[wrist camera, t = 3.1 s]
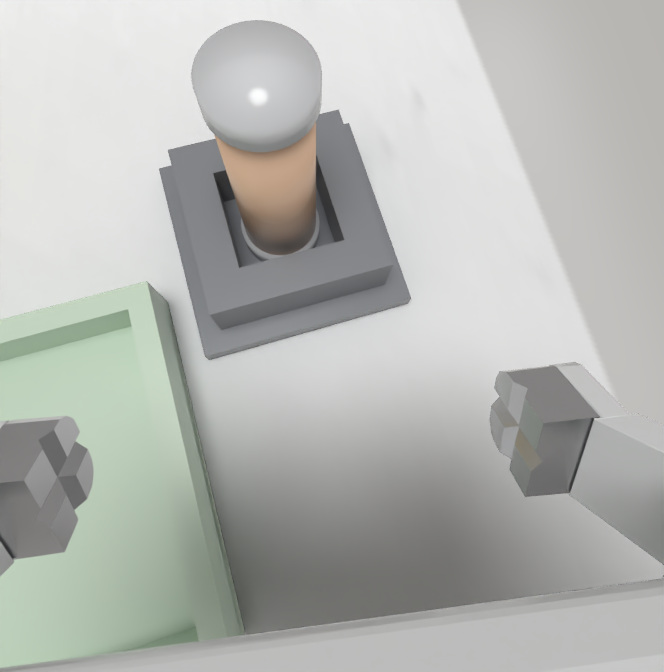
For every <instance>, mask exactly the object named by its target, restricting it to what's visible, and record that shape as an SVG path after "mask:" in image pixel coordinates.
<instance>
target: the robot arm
mask: <svg viewBox="0 0 664 672" xmlns="http://www.w3.org/2000/svg"><path fill="white" fill-rule="evenodd" d="M494 389H495V390H496V392H497V393H498V395H499V396H500V397H499V398H498V399H497V400H496V401H495V402H494V403H493V405H492V406H491V412H490V426H491V433H492V436H493V439H494V442H495V444H496V446H497V448H498V450H499V451H500V452H501V453H502V454H504V455H506V456H507V457H509V458H510V459H512V460H511V464H510V471H511V473H512V475H513V476H514V478H515V480H516V482H517V483H518V485H519V487H520V489H521V490H522V492H523V494H524V496H525V497H528V496H539V495H550V494H561V493H570V496H572V497H573V498H574V499H576V500H577V501H578V502H580V503H581V504H582V505H584V506H585V507H586V508H588V509H589V510H591V511H592V512H593V513H595V514H596V515H597V516H599V517H600V518H601V519H603V520H604V521H605V522H607V523H608V524H609V525H611V526H612V527H613V528H615V529H616V530H618V531H619V532H620V533H622V534H623V535H624V536H626V537H627V538H628V539H630V540H631V541H632V542H634V543H635V544H636V545H638V546H639V547H640V548H642V549H643V550H644V551H646V552H647V553H649V554H650V555H651V556H653V557H654V558H655V559H657V560H658V561H659V562H661V563H662V564H663V565H664V425H663V424H661V423H659V422H656V421H654V420H652V419H649V418H647V417H645V416H643V415H640V414H632V415H630V414H629V413H628V412H627V411H626V410H625V408H624V407H623V406H622V405H621V404H620V403H619V402H618V401H617V400H616V399H615V398H614V397H613V396H612V395H611V394H610V393H609V392H608V391H607V390H606V389H605V388H604V387H603V386H602V385H601V384H600V383H599V382H598V381H597V380H596V379H595V378H594V377H593V376H592V375H591V374H590V373H589V372H588V371H587V370H586V369H585V368H584V367H583V366H582V365H581V364H578V363H576V362H571V363H563V364H555V365H550V366H545V367H536V368H527V369H517V370H508V371H500V372H499V374H498V375H497V377H496V382H495V387H494ZM79 433H80V430H79V428H78V426H77V424H76V423H75V421H74V419H73V418H71V417H69V416H55V417H43V418H30V419H18V420H11V421H0V576H1V575H2V574H3V573H4V572H5V571H6V570H7V569H8V568H9V567H10V566H11V565H12V564H13V563H14V560H15V559H22V558H29V557H36V556H43V555H49V554H56V553H63V552H65V551H66V548H67V546H68V544H69V541H70V539H71V537H72V534H73V532H74V529H75V527H76V525H77V522H78V520H79V519H78V517H77V515H76V513H75V511H74V510H75V509H76V508H77V507H79V506H80V505H81V504H82V503H83V502H84V501H85V500H87V498H88V496H89V493H90V491H91V488H92V484H93V475H94V468H93V462H92V458H91V455H90V453H89V451H88V449H87V448H85V447H84V446H82V445H81V444H79V443H78V442H76V439H77V437H78V435H79ZM0 672H664V576H663V578H662V579H656V580H648V581H641V582H633V583H626V584H618V585H611V586H603V587H596V588H588V589H581V590H574V591H566V592H559V593H551V594H544V595H537V596H529V597H522V598H514V599H507V600H500V601H492V602H485V603H477V604H470V605H463V606H455V607H448V608H441V609H433V610H426V611H418V612H411V613H404V614H396V615H389V616H382V617H374V618H367V619H359V620H352V621H345V622H337V623H330V624H322V625H315V626H307V627H300V628H292V629H285V630H278V631H270V632H263V633H255V634H248V635H240V636H233V637H225V638H218V639H210V640H203V641H195V642H188V643H180V644H173V645H166V646H158V647H151V648H143V649H136V650H128V651H121V652H113V653H106V654H99V655H91V656H84V657H76V658H69V659H61V660H54V661H46V662H39V663H32V664H24V665H17V666H9V667H2V668H0Z"/></svg>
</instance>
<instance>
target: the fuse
mask: <svg viewBox="0 0 664 672" xmlns="http://www.w3.org/2000/svg"><path fill="white" fill-rule="evenodd" d="M191 77H192V85H193V89H194V92H195V95H196V98H197V101H198V104H199V107H200V110H201V113H202V115H203V118H204V120H205V122H206V124H207V126H208V127H209V129H210V130H211V131H212V132H213V133H214V135H215V138H216V141H217V144H218V147H219V150H220V153H221V156H222V159H223V162H224V166H225V169H226V172H227V175H228V178H229V181H230V184H231V187H232V190H233V193H234V196H235V200H236V203H237V206H238V209H239V212H240V215H241V228H242V233H243V236H244V239H245V242H246V244H247V247H248V249H249V250H250V252H251V253H252V254H253V255H254V256H255V257H256V258H257V259H258V260H260V261H262V262H263V261H267V260H271V259H274V258H278V257H282V256H286V255H290V254H293V253H297V252H301V251H305V250H308V249H312V248H315V247H316V245H317V243H318V239H319V215H318V211H317V209H316V120H317V118H318V116H319V113H320V108H321V93H322V71H321V64H320V61H319V58H318V55H317V53H316V51H315V50H314V48H313V47H312V45H311V44H310V43H309V42H308V41H307V40H306V39H305V38H304V37H303V36H302V35H301V34H299V33H298V32H296V31H295V30H293V29H291V28H289V27H287V26H284V25H282V24H278V23H275V22H270V21H260V20H254V21H244V22H239V23H236V24H232V25H230V26H227V27H225V28H223V29H221V30H219V31H218V32H216V33H215V34H213V35H212V36H211V37H210V38H209V39H207V40H206V41H205V43H204V44H203V45H202V46H201V48H200V49H199V51H198V52H197V54H196V57H195V59H194V62H193V65H192V73H191Z"/></svg>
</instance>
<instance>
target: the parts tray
mask: <svg viewBox="0 0 664 672" xmlns="http://www.w3.org/2000/svg"><path fill="white" fill-rule="evenodd" d="M55 416H69V417H71V418H73V419H74V421H75V423H76V424H77V426H78V428H79V430H80V433H79V435H78V437H77V439H76V442H78V443H79V444H81V445H82V446H84V447H85V448H87V449H88V451H89V453H90V455H91V458H92V462H93V468H94V475H93V484H92V488H91V491H90V493H89V496H88V498H87V500H85V501H84V502H83V503H82V504H81V505H80V506H79V507H77V508H76V509H75V510H74V511H75V513H76V515H77V517H78V519H79V520H78V522H77V525H76V527H75V529H74V532H73V534H72V537H71V539H70V541H69V544H68V546H67V548H66V551H65V552H63V553H56V554H49V555H43V556H36V557H29V558H22V559H15V560H14V563H13V564H12V565H11V566H10V567H9V568H8V569H7V570H6V571H5V572H4V573H3V574H2V575H1V576H0V668H2V667H9V666H17V665H24V664H32V663H39V662H46V661H54V660H61V659H69V658H76V657H84V656H91V655H99V654H106V653H113V652H121V651H128V650H136V649H143V648H151V647H158V646H166V645H173V644H180V643H188V642H195V641H203V640H210V639H218V638H225V637H233V636H240V635H244V633H245V630H244V626H243V622H242V618H241V613H240V609H239V605H238V600H237V596H236V592H235V588H234V583H233V579H232V575H231V571H230V566H229V562H228V558H227V553H226V549H225V545H224V541H223V536H222V532H221V528H220V523H219V519H218V515H217V511H216V506H215V502H214V498H213V494H212V489H211V485H210V481H209V476H208V472H207V468H206V464H205V459H204V455H203V451H202V446H201V442H200V438H199V434H198V429H197V425H196V421H195V416H194V412H193V408H192V404H191V399H190V395H189V391H188V387H187V382H186V378H185V374H184V369H183V365H182V361H181V357H180V352H179V348H178V344H177V339H176V335H175V331H174V327H173V322H172V318H171V314H170V310H169V305H168V302H167V301H166V300H165V299H164V298H163V297H162V296H161V295H160V294H159V293H158V292H157V291H156V290H155V289H154V288H153V287H152V286H151V285H150V284H149V283H148V282H147V281H146V282H142V283H138V284H135V285H131V286H127V287H123V288H119V289H116V290H112V291H108V292H104V293H100V294H97V295H93V296H89V297H85V298H81V299H78V300H74V301H70V302H66V303H62V304H59V305H55V306H51V307H47V308H43V309H40V310H36V311H32V312H28V313H24V314H20V315H17V316H13V317H9V318H5V319H1V320H0V421H11V420H18V419H30V418H43V417H55Z"/></svg>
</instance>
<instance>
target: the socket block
mask: <svg viewBox="0 0 664 672" xmlns="http://www.w3.org/2000/svg"><path fill="white" fill-rule="evenodd" d="M168 153H169V157H170V160H171V164H172V166H168V167H164V168H160V169H159V171H160V175H161V179H162V183H163V187H164V191H165V195H166V199H167V203H168V207H169V212H170V216H171V220H172V224H173V228H174V232H175V236H176V240H177V244H178V248H179V252H180V256H181V260H182V264H183V269H184V273H185V277H186V281H187V285H188V289H189V293H190V297H191V301H192V305H193V309H194V313H195V317H196V321H197V325H198V330H199V334H200V338H201V342H202V346H203V350H204V354H205V357H206V358H208V359H209V360H210V359H213V358H217V357H220V356H224V355H228V354H231V353H235V352H238V351H242V350H245V349H249V348H252V347H256V346H259V345H263V344H266V343H270V342H273V341H277V340H280V339H284V338H287V337H291V336H295V335H298V334H302V333H305V332H309V331H312V330H316V329H319V328H323V327H326V326H330V325H333V324H337V323H340V322H344V321H347V320H351V319H354V318H358V317H362V316H365V315H369V314H372V313H376V312H379V311H383V310H386V309H390V308H393V307H397V306H400V305H404V304H407V303H408V302H409V301H410V299H411V297H410V294H409V291H408V288H407V285H406V282H405V280H404V277H403V274H402V271H401V268H400V266H399V263H398V260H397V257H396V254H395V252H394V249H393V246H392V243H391V240H390V238H389V235H388V232H387V229H386V226H385V223H384V221H383V218H382V215H381V212H380V209H379V207H378V204H377V201H376V198H375V195H374V193H373V190H372V187H371V184H370V181H369V178H368V176H367V173H366V170H365V167H364V164H363V162H362V159H361V156H360V153H359V150H358V148H357V145H356V142H355V139H354V136H353V134H352V131H351V128H350V125H349V123H348V124H343V121H342V118H341V115H340V113H339V110H336V111H331V112H327V113H323V114H319V116H318V118H317V120H316V209H317V211H318V215H319V239H318V243H317V245H316V247H315V248H312V249H308V250H305V251H301V252H297V253H293V254H290V255H286V256H282V257H278V258H274V259H271V260H267V261H263V262H262V261H260V260H258V259H257V258H256V257H255V256H254V255H253V254H252V253H251V252H250V250H249V249H248V247H247V244H246V242H245V239H244V236H243V233H242V228H241V215H240V212H239V209H238V206H237V203H236V200H235V196H234V193H233V190H232V187H231V184H230V181H229V178H228V175H227V172H226V169H225V166H224V162H223V159H222V156H221V153H220V150H219V147H218V144H217V141H216V139H212V140H208V141H204V142H200V143H195V144H191V145H187V146H183V147H178V148H174V149H170V150H168Z"/></svg>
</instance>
